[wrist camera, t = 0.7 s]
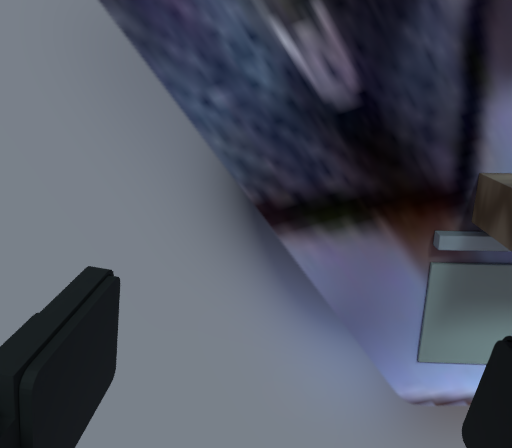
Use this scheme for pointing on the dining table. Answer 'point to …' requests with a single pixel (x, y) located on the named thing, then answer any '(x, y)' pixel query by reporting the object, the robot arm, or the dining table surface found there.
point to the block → (494, 206)
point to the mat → (465, 312)
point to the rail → (466, 241)
